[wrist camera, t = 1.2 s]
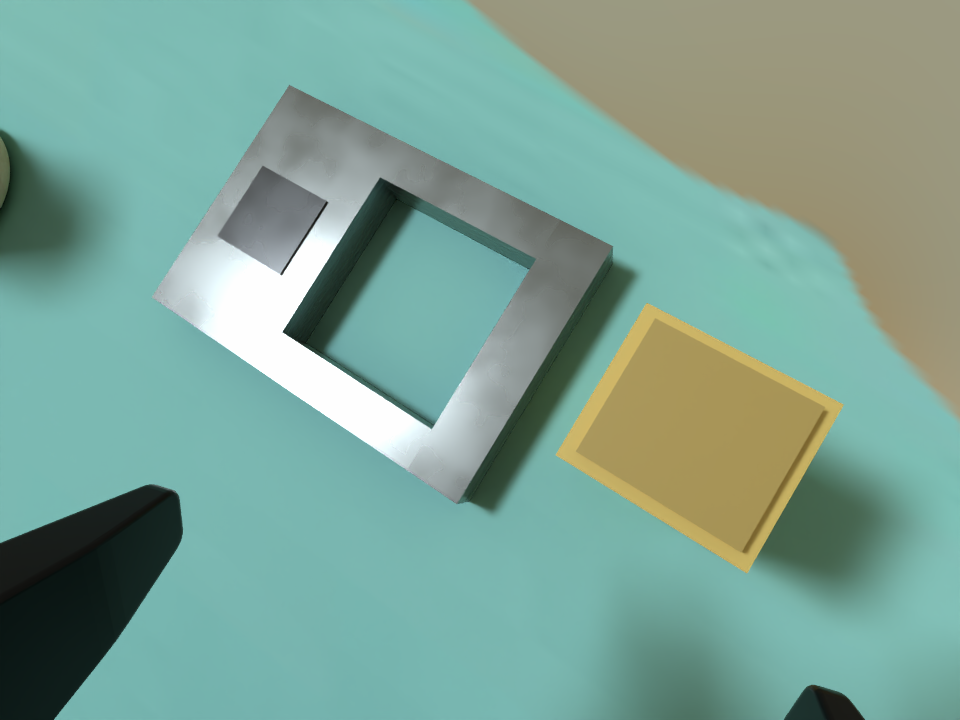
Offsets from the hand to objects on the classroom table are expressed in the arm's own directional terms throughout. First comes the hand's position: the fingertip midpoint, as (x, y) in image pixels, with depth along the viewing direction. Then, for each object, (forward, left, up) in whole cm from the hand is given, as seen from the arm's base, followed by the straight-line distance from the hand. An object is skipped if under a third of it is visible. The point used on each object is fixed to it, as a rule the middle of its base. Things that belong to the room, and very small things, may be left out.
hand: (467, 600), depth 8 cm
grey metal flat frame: (+4, +11, -15) cm, 19 cm away
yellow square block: (+4, -2, -15) cm, 16 cm away
